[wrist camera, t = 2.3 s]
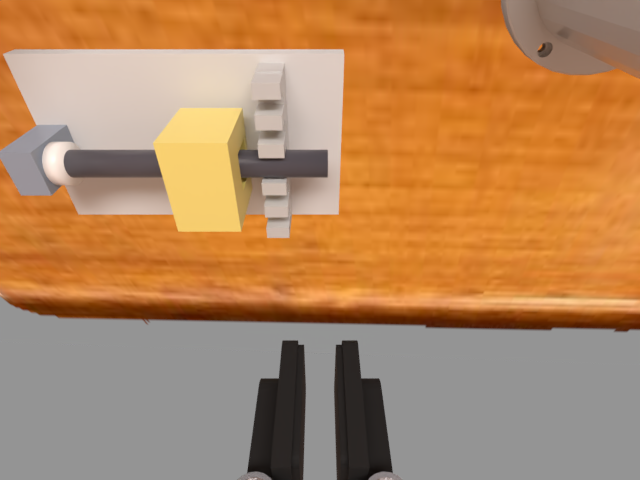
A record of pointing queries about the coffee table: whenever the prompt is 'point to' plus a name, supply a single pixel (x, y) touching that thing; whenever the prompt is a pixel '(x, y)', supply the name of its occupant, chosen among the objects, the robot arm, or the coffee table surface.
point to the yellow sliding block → (205, 169)
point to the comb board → (157, 111)
